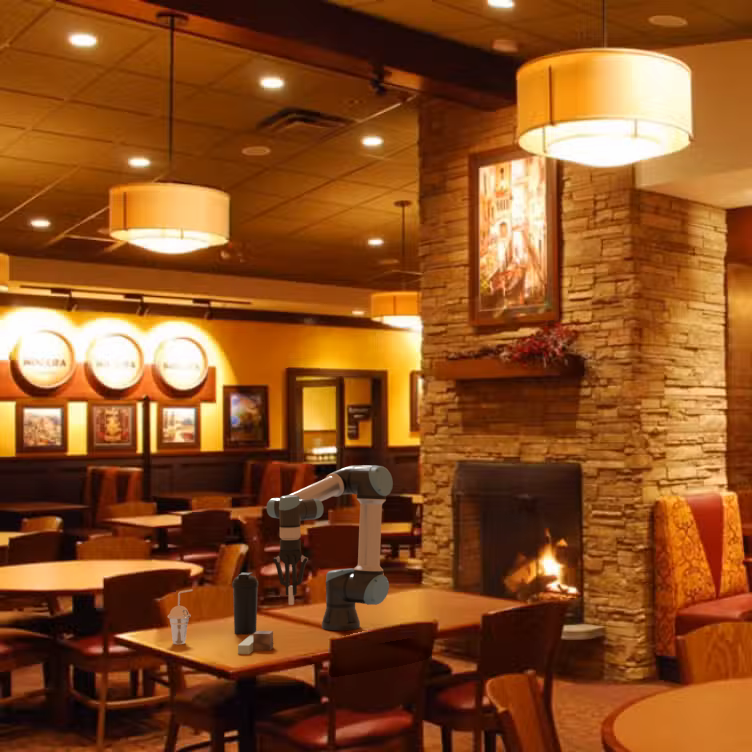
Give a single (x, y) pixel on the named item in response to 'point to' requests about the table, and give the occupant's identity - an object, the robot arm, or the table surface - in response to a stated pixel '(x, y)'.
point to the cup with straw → (179, 621)
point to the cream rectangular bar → (246, 646)
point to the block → (263, 640)
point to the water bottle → (245, 603)
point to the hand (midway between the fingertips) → (291, 604)
